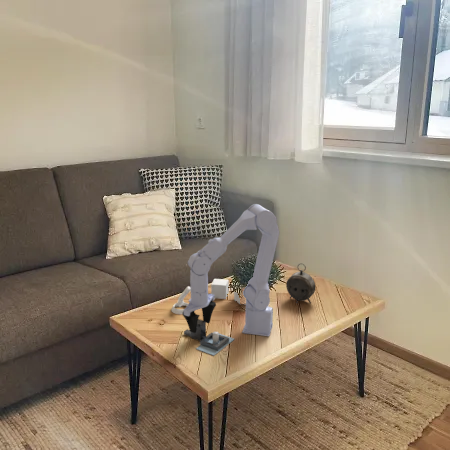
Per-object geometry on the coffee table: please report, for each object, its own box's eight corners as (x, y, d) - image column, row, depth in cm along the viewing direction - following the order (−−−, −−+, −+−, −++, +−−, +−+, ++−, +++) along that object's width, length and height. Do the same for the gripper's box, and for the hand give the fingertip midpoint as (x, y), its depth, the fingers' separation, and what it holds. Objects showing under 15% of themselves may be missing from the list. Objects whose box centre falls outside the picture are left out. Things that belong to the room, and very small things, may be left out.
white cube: (214, 292, 193) (214, 278, 191) (228, 293, 192) (228, 279, 190) (211, 298, 187) (211, 284, 186) (225, 299, 186) (226, 285, 185)
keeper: (196, 349, 151) (196, 337, 149) (217, 333, 160) (217, 322, 159) (213, 355, 147) (213, 344, 146) (234, 339, 156) (234, 328, 155)
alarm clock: (315, 302, 184) (317, 264, 179) (309, 307, 179) (312, 268, 175) (289, 296, 189) (291, 258, 185) (283, 301, 185) (285, 262, 180)
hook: (203, 302, 172) (187, 294, 169) (185, 323, 176) (169, 315, 174) (202, 290, 178) (187, 282, 176) (184, 310, 183) (169, 303, 180)
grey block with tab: (179, 337, 157) (178, 321, 156) (191, 329, 163) (191, 313, 161) (217, 350, 149) (216, 333, 147) (229, 341, 154) (228, 324, 153)
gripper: (202, 279, 160) (203, 315, 164) (175, 294, 148) (176, 332, 152) (219, 284, 156) (219, 320, 160) (193, 299, 144) (194, 338, 148)
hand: (199, 326), depth 156 cm, fingers open, 7 cm apart
